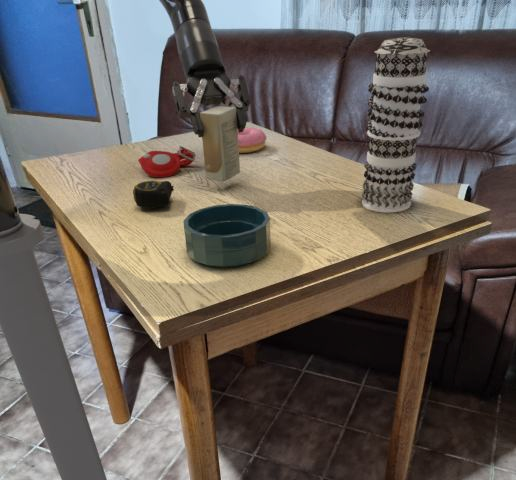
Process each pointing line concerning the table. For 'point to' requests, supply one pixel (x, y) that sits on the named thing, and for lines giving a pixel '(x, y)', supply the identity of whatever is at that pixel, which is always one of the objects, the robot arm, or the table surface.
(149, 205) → the tape measure
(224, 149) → the cosmetic box
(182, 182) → the table surface
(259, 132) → the doughnut
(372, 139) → the white patterned cylinder
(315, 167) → the table surface
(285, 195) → the table surface
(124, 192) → the table surface
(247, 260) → the bowl
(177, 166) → the tracker holder
